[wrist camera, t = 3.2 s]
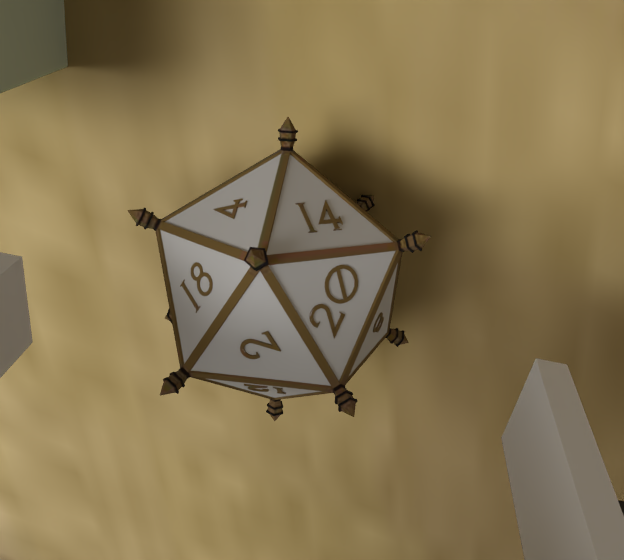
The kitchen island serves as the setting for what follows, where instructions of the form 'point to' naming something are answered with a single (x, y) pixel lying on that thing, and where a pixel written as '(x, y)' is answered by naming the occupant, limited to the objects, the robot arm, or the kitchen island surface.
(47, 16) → the lower block
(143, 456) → the kitchen island surface
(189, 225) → the game die
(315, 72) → the kitchen island surface
